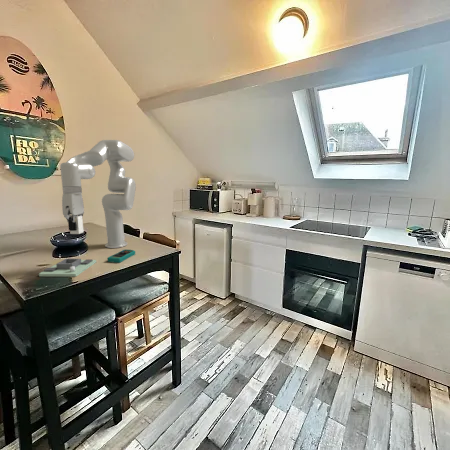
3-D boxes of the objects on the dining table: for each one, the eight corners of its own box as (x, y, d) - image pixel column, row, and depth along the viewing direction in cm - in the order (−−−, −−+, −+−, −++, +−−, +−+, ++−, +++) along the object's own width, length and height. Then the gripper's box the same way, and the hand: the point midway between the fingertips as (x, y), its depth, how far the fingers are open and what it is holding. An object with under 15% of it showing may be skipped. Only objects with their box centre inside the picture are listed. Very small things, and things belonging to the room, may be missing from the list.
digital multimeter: (136, 254, 142) (136, 249, 141) (119, 263, 128) (119, 258, 127) (124, 253, 143) (124, 248, 143) (107, 262, 129) (106, 257, 129)
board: (64, 261, 129) (63, 254, 128) (96, 262, 129) (95, 255, 128) (39, 276, 111) (37, 268, 110) (75, 276, 111) (74, 268, 110)
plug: (75, 232, 123) (73, 215, 121) (83, 232, 123) (82, 215, 121) (69, 234, 118) (67, 217, 117) (78, 234, 118) (76, 217, 117)
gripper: (74, 189, 125) (78, 226, 128) (52, 191, 108) (56, 233, 112) (89, 189, 125) (93, 226, 128) (69, 191, 108) (74, 233, 112)
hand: (76, 228), depth 120 cm, fingers closed on plug, 4 cm apart
